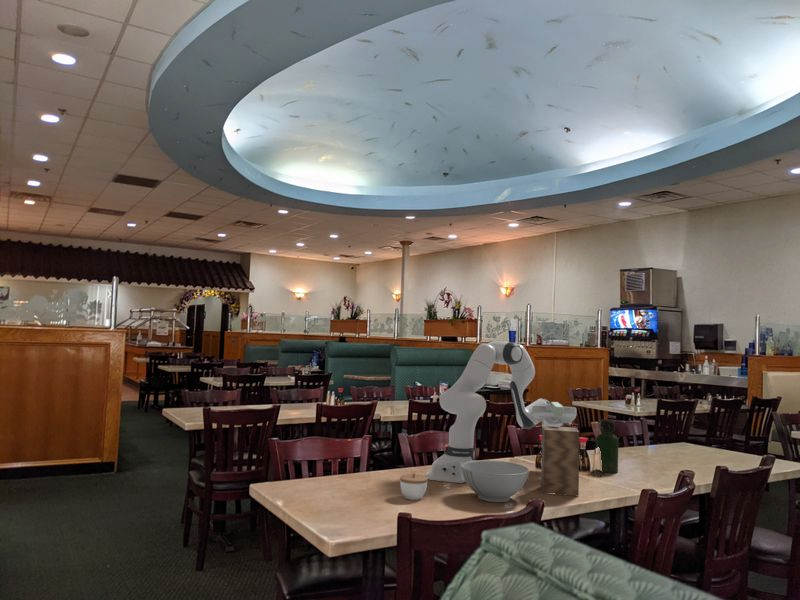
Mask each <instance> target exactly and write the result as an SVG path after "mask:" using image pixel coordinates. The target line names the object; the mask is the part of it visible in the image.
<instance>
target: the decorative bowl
mask: <svg viewBox="0 0 800 600" xmlns="http://www.w3.org/2000/svg"><path fill="white" fill-rule="evenodd" d="M461 470H462V474H463V477H464V479H465V481H466V482H465V483H466V484H467V486H468V487H469V488H470V489H471V491H473V492H474V493H475V494H476V495H477V498H478V499H479V500H482V501H485V502H491V503H492V502H493V503H505V502H509V501H510V499H511V498H512V497H513V496H515V495H516V494H517V493H518V492H520V490H521V489H522V488H523V487H524V486H525V484H526V482H527V480H528V477H529V474H530V468H528V467H527V466H525V465H523V464H518V463H515V462H509V461H501V460H474V461H469V462H465V463H463V464H461Z"/></svg>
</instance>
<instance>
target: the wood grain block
mask: <svg viewBox="0 0 800 600" xmlns="http://www.w3.org/2000/svg"><path fill="white" fill-rule="evenodd" d="M541 427H542V429H541V471H540V472H541V475H540V478H541V479H540V481H541V482H540V487H541V490H543V491H542V494H543V493H555V494H566V495H565V496H567V495H578V496H579V490H580V489H579V487H580V483H579V481H580V480H579V479H580V431H579V430H578V428H576V427H568V426H567V427H566V426H560V427H553V426H542V425H541Z"/></svg>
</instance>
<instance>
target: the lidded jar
mask: <svg viewBox="0 0 800 600" xmlns="http://www.w3.org/2000/svg"><path fill="white" fill-rule="evenodd" d="M399 480H400V482H399V485H400V491H401V493H402V496H404V497H405V499H406V500H410V501H417V500H421V499H422V497H424V496H425V494H426V491H427V487H428V480H429V479H428V478H427V477H426V475H420V474H416V473H415V472H413V473H412V474H403V475H401V476H400V477H399Z"/></svg>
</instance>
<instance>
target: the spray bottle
mask: <svg viewBox="0 0 800 600" xmlns="http://www.w3.org/2000/svg"><path fill="white" fill-rule="evenodd" d="M615 426H616V425H615V421H614V419H608V418H607V419H606V418H602V419H601V420H600V423H599V429H600V432H601V433H599V434H598V435H596V438H595V449H596V448H597V447H599V448H600V451H601V460H602V471H603V472H602V473H605V472H607V473H608V474H609V473H610V474H613V473H614V474H615V473H618V472H619V438H618V436H616V435H615V434H613V433H615V429H616V428H615ZM607 473H606V474H607Z"/></svg>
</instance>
